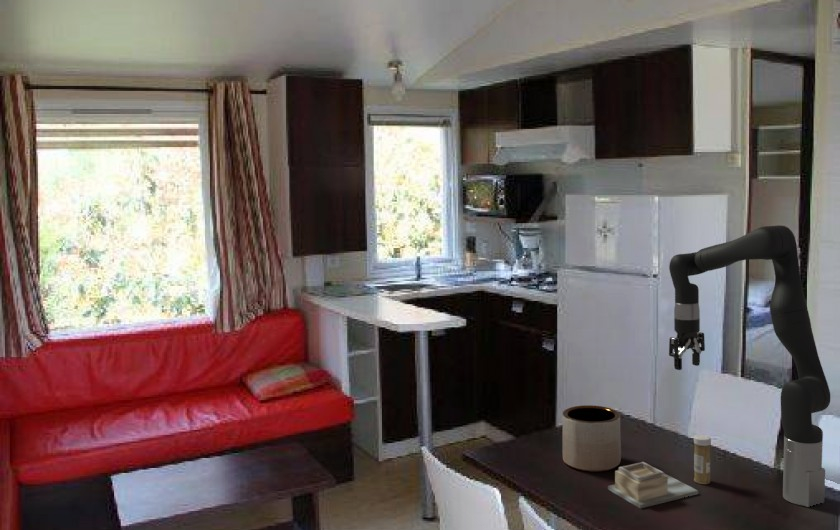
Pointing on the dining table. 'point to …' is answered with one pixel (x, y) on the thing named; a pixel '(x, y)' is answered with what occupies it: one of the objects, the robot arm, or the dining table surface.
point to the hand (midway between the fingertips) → (687, 367)
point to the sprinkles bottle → (702, 459)
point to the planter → (591, 438)
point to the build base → (672, 493)
